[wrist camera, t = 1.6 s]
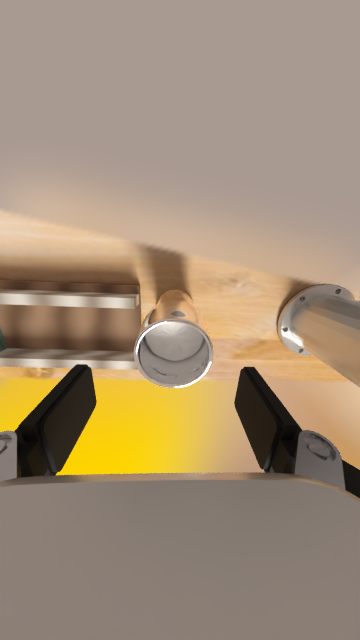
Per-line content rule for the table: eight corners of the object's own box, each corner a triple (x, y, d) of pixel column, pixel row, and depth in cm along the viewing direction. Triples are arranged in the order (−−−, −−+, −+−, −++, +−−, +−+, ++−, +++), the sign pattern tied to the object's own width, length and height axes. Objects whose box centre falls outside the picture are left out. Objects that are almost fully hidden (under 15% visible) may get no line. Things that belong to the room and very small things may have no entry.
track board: (139, 285, 26) (133, 289, 22) (142, 361, 31) (137, 375, 27) (-18, 278, 26) (-53, 282, 22) (9, 357, 30) (-16, 372, 26)
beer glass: (161, 331, 29) (148, 398, 15) (148, 293, 27) (116, 330, 13) (200, 320, 29) (223, 379, 15) (189, 281, 26) (205, 304, 12)
